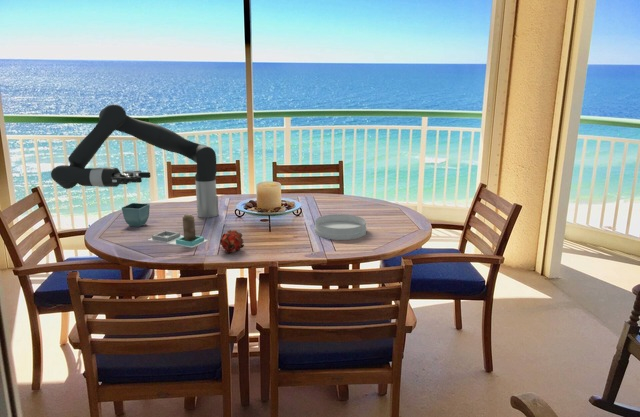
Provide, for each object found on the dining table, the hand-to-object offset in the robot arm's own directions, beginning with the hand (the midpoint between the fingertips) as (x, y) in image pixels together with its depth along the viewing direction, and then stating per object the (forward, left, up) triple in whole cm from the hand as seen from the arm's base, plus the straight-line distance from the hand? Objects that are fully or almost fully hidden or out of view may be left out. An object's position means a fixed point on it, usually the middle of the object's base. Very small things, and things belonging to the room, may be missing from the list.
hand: (145, 177), depth 190 cm
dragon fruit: (-24, +28, -26) cm, 45 cm away
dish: (-73, +28, -26) cm, 82 cm away
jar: (-12, +13, -25) cm, 30 cm away
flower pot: (0, -25, -26) cm, 36 cm away
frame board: (-9, +8, -26) cm, 29 cm away
